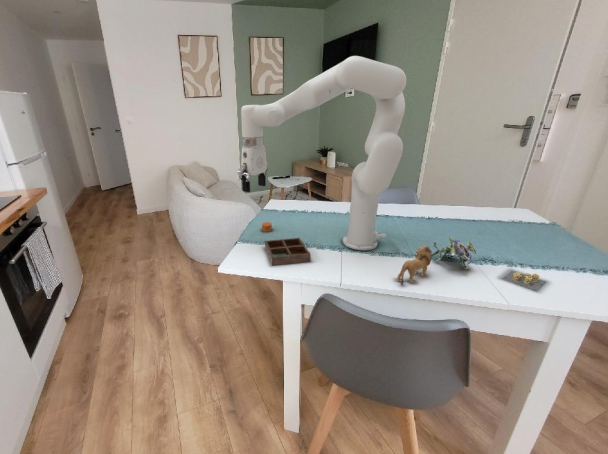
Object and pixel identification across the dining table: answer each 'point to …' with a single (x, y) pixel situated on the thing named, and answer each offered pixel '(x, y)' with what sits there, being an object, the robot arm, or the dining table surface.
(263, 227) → the orange short cylinder
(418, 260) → the lion figurine
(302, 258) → the grid
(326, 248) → the dining table surface
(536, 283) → the dice set
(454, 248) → the passion flower
